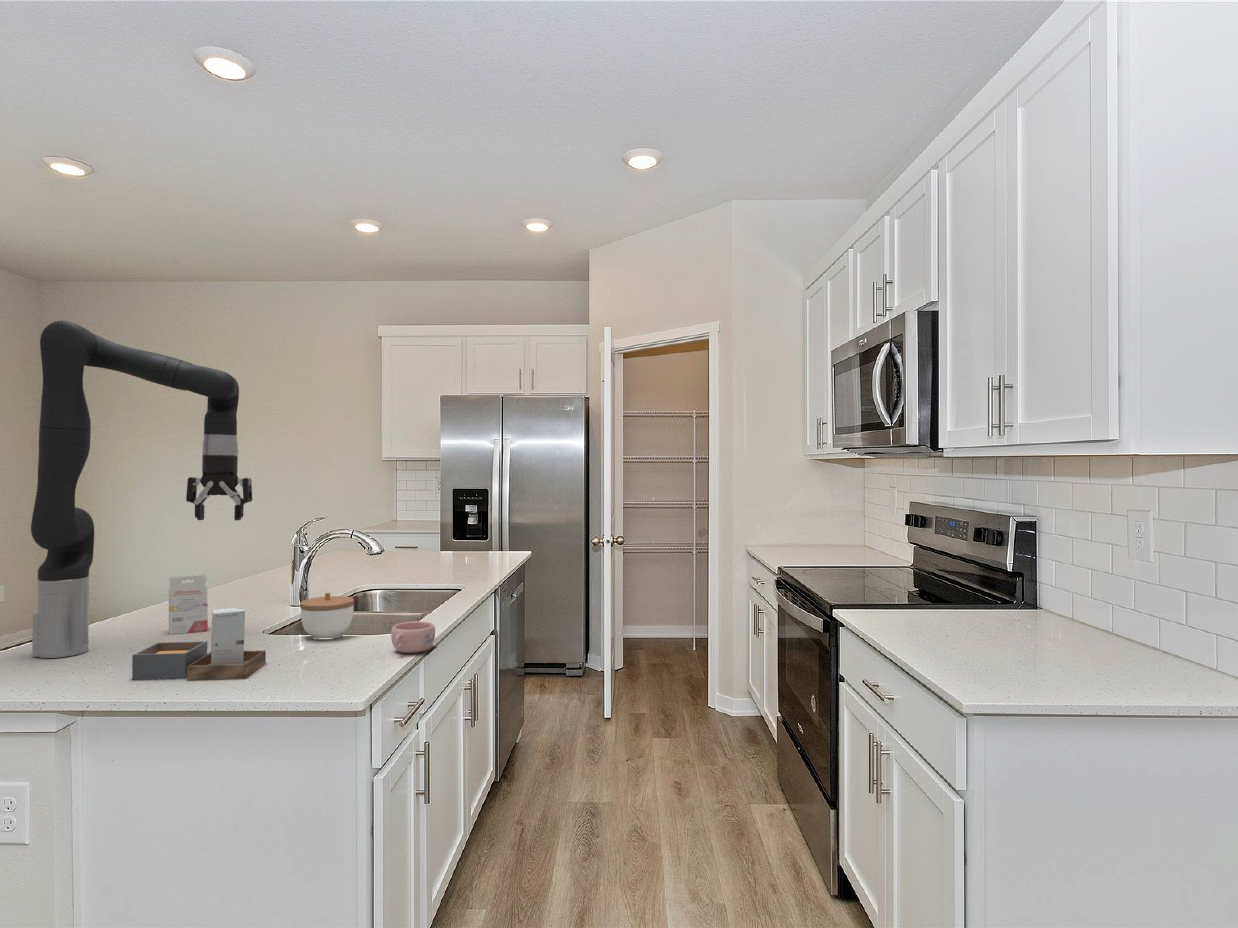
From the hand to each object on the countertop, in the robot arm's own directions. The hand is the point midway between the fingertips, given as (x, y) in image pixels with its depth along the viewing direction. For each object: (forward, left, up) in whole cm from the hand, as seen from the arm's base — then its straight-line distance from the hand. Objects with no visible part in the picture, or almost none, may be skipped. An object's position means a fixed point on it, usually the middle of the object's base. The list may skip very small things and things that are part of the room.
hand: (219, 520), depth 173 cm
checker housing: (+1, -25, -30) cm, 39 cm away
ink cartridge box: (-12, +13, -30) cm, 35 cm away
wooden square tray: (+12, -26, -30) cm, 41 cm away
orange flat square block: (+1, -25, -28) cm, 37 cm away
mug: (+48, -14, -30) cm, 58 cm away
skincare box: (+12, -26, -29) cm, 41 cm away
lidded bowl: (+25, +3, -30) cm, 39 cm away
